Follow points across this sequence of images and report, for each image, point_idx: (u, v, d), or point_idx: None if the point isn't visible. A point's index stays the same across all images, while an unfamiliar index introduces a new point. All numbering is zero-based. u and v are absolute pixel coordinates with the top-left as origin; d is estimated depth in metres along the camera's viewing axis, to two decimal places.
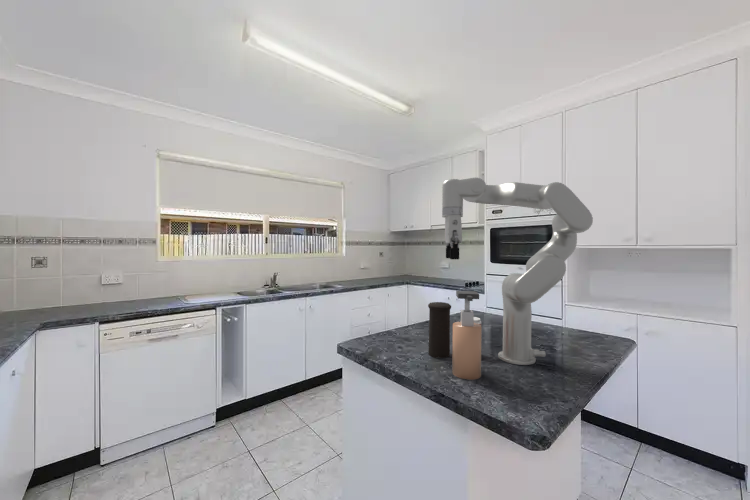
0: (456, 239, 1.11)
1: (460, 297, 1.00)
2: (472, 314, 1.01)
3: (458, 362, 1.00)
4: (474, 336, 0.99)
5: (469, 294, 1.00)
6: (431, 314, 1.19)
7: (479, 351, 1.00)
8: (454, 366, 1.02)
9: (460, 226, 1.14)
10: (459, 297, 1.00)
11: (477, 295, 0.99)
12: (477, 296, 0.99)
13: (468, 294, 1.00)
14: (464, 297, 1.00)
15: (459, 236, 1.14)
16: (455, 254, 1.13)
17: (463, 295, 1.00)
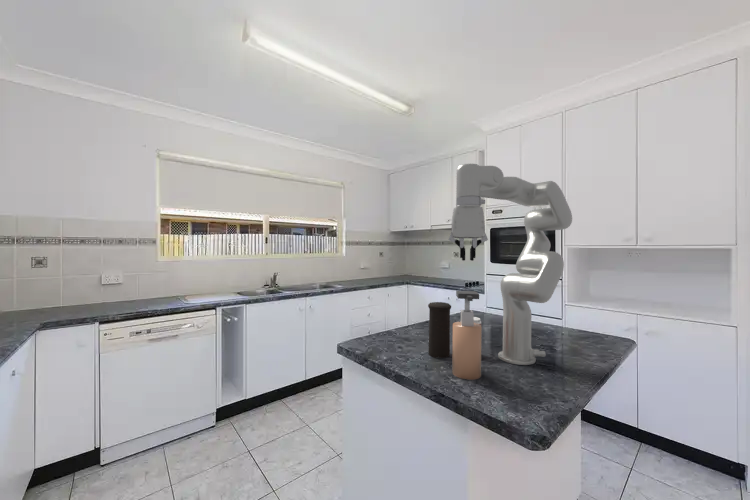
0: (484, 241, 1.02)
1: (460, 297, 1.00)
2: (472, 314, 1.01)
3: (458, 362, 1.00)
4: (474, 336, 0.99)
5: (469, 294, 1.00)
6: (431, 314, 1.19)
7: (479, 351, 1.00)
8: (454, 366, 1.02)
9: None
10: (459, 297, 1.00)
11: (477, 295, 0.99)
12: (477, 296, 0.99)
13: (468, 294, 1.00)
14: (464, 297, 1.00)
15: None
16: None
17: (463, 295, 1.00)
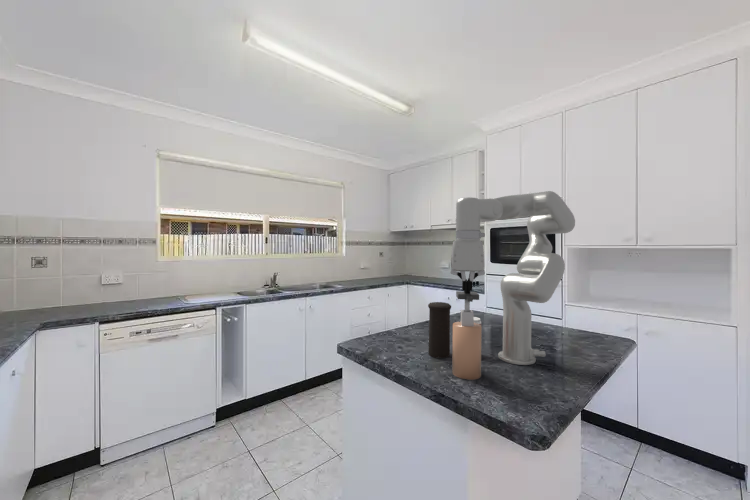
0: (480, 275, 1.02)
1: (460, 298, 1.00)
2: (472, 314, 1.01)
3: (458, 362, 1.00)
4: (474, 336, 0.99)
5: (469, 295, 1.00)
6: (431, 314, 1.19)
7: (479, 351, 1.00)
8: (454, 366, 1.02)
9: None
10: (459, 298, 1.00)
11: (477, 296, 0.99)
12: (477, 297, 0.99)
13: (468, 295, 1.00)
14: (464, 298, 1.00)
15: None
16: (471, 287, 1.03)
17: (463, 296, 1.00)
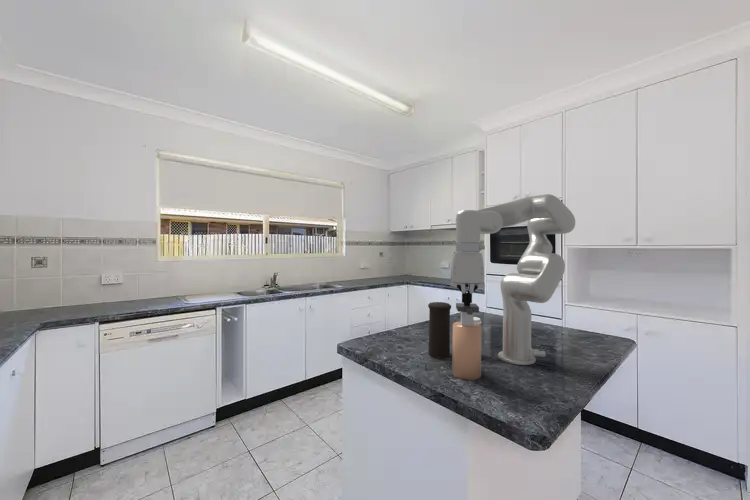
0: (480, 287, 1.02)
1: (460, 310, 1.00)
2: None
3: (458, 362, 1.00)
4: (474, 336, 0.99)
5: (469, 307, 1.00)
6: (431, 314, 1.19)
7: (479, 351, 1.00)
8: (454, 366, 1.02)
9: None
10: (459, 310, 1.00)
11: (477, 308, 0.99)
12: (477, 309, 0.99)
13: (468, 307, 1.00)
14: (464, 310, 1.00)
15: None
16: None
17: (463, 308, 1.00)
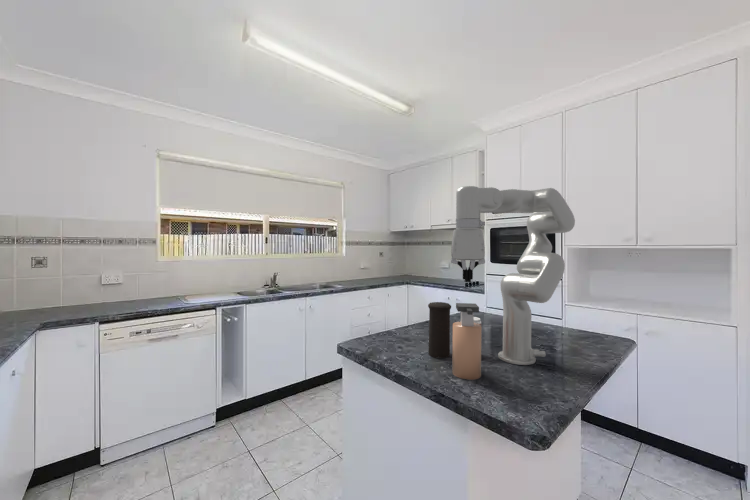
0: None
1: (460, 310, 1.00)
2: None
3: (458, 362, 1.00)
4: (474, 336, 0.99)
5: (469, 307, 1.00)
6: (431, 314, 1.19)
7: (479, 351, 1.00)
8: (454, 366, 1.02)
9: None
10: (459, 310, 1.00)
11: (477, 308, 0.99)
12: (477, 309, 0.99)
13: (468, 307, 1.00)
14: (464, 310, 1.00)
15: None
16: None
17: (463, 308, 1.00)
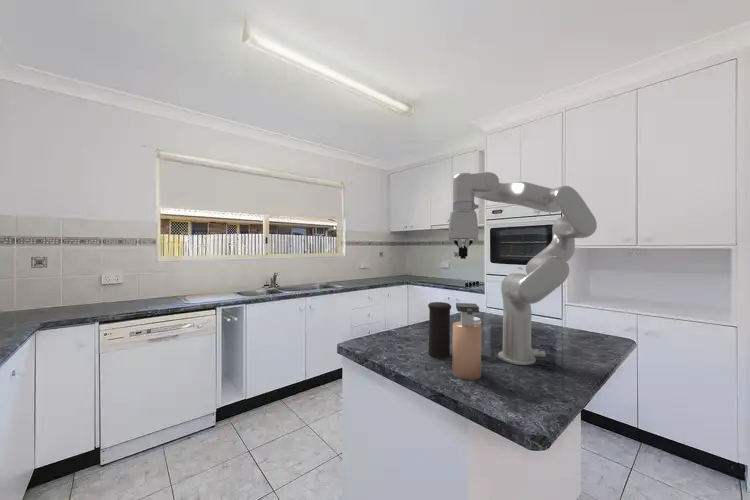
0: (475, 242, 1.15)
1: (460, 310, 1.00)
2: None
3: (458, 362, 1.00)
4: (474, 336, 0.99)
5: (469, 307, 1.00)
6: (431, 314, 1.19)
7: (479, 351, 1.00)
8: (454, 366, 1.02)
9: None
10: (459, 310, 1.00)
11: (477, 308, 0.99)
12: (477, 309, 0.99)
13: (468, 307, 1.00)
14: (464, 310, 1.00)
15: None
16: (467, 253, 1.15)
17: (463, 308, 1.00)
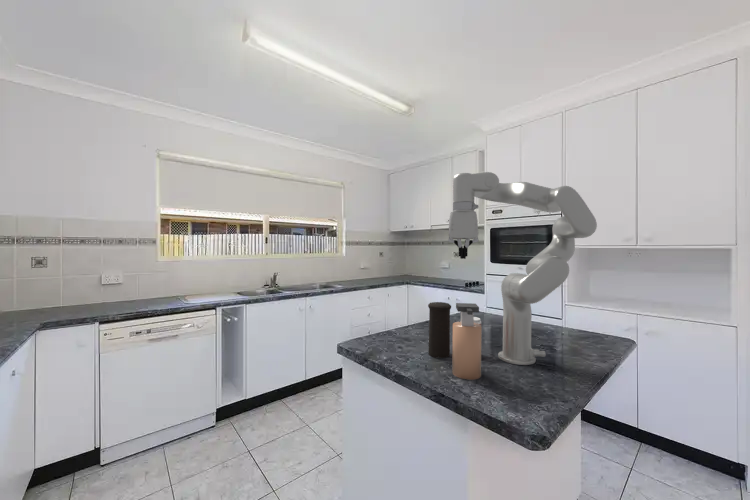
0: (475, 242, 1.15)
1: (460, 310, 1.00)
2: None
3: (458, 362, 1.00)
4: (474, 336, 0.99)
5: (469, 307, 1.00)
6: (431, 314, 1.19)
7: (479, 351, 1.00)
8: (454, 366, 1.02)
9: None
10: (459, 310, 1.00)
11: (477, 308, 0.99)
12: (477, 309, 0.99)
13: (468, 307, 1.00)
14: (464, 310, 1.00)
15: None
16: None
17: (463, 308, 1.00)
